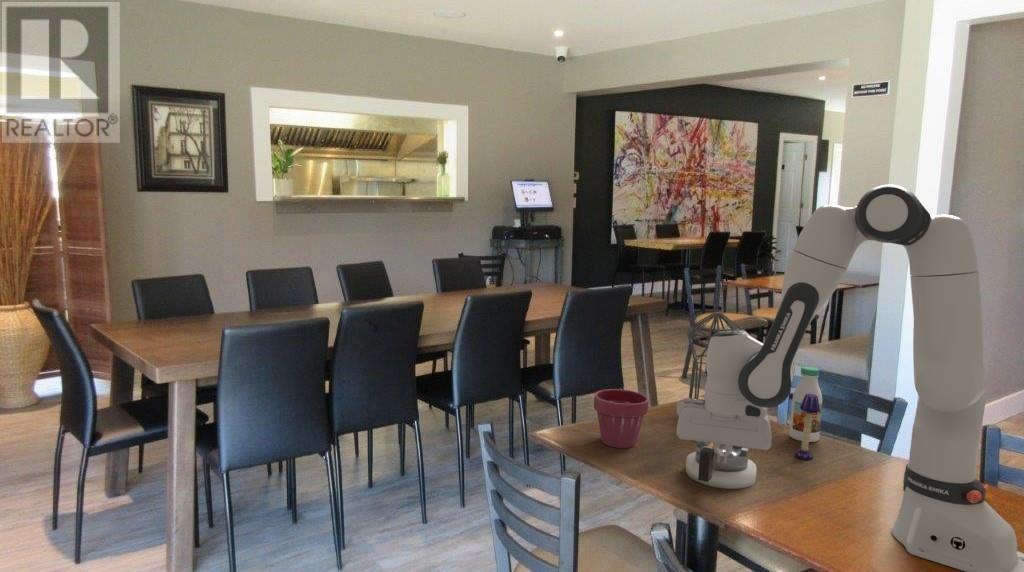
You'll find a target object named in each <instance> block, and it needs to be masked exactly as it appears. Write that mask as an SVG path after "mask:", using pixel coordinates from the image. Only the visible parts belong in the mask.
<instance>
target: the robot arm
mask: <svg viewBox="0 0 1024 572" xmlns="http://www.w3.org/2000/svg"><path fill="white" fill-rule="evenodd" d="M868 241H875V242H878V243H883V244H894V245H900V246H902V247H903V248H905V250H906V254H907V257H908V262H909V263H908V265H909V275H910V288H911V300H912V310H913V329H912V330H913V335H912V336H913V339H912V344H913V345H912V348H913V351H912V352H913V355H912V356H913V381H914V387H915V391H916V394H917V395H918V400H917V404H916V405H917V406H916V411H915V416H914V419H913V425H912V432H911V439H910V447H909V448H910V449H909V457H908V463H906V465H905V470H904V474H903V481H902V483H903V485H902V486H903V488H902V489H903V496H902V497H903V498H902V501H901V505H900V508H899V511H898V514H897V516H896V519H895V522H894V524H893V526H892V528H891V534H892V535H893V537H894V538H895V539H896V540H897V541H898V542H900V543H901V544H902V545H903V546H904V548H905V550H906V551H907V552H908V553H909V554H911V555H913V556H914V557H915V556H916V557H919V558H922V559H925V560H928V561H931V562H935V563H938V564H940V565H944V566H948V567H951V568H954V569H957V570H960V571H964V572H1024V553H1023V552H1021V551H1018V542H1017V541H1018V539H1017V534H1016V531H1015V530H1014V528H1013V527H1012V526H1011V524H1009V523H1008V522H1007V521H1006V520H1005V519H1004V518H1003V517H1002V516H1001V515H1000V514H999V513H998V512H997V511H996V510H995V509H994V508H993V507H992V506H991V505H990V504H988V503H987V501H985V499H986V496H987V495H986V494H987V493H986V492H988V488H989V484H988V483H986V484H985V485H983V484H982V483H981V482H980V481H979V480H978V478H977V477H976V472H977V467H978V466H977V465H978V457H979V447H980V441H981V434H982V427H983V423H984V422H983V421H984V415H985V410H986V408H985V407H986V401H987V395H988V388H989V381H990V373H991V371H990V370H991V369H990V364H989V361H988V359H987V357H986V355H984V350H983V348H984V345H983V343H984V342H983V309H982V296H981V285H980V284H981V283H980V274H979V273H980V272H979V263H978V257H977V251H976V247H975V243H974V239H973V235H972V232H971V229H970V227H969V224H968V223H967V222H966V220H964V218H961V217H960V216H955V215H950V214H930V212H929V211H928V209H926V208H925V206H924V205H923V203H922V202H921V201H920V199H918V197H917V196H916V195H915V194H914V193H913V192H912V191H911V190H910V189H908V188H905V187H904V186H901V185H897V184H882V185H879V186H876V187H872V188H871V189H870V190H868V191H867V192H865V193H864V195H863V196H862V197H861V198H860V200H859V201H858V203H857V205H856V206H853V207H845V206H841V205H837V204H828V205H827V204H826V205H821V206H819V207H818V208H817V209H815V210H814V211H813V213H812V214H811V216H810V217H809V218H808V219H807V221H806V223H805V225H804V226H803V228H802V230H801V231H800V233H799V235H798V237H797V239H796V241H795V243H794V245H793V249H792V250H791V252H790V254H789V258H788V259H787V262H786V267H785V270H784V275H783V280H782V287H781V292H780V293H781V294H780V300H779V305H778V308H777V311H776V315H775V317H774V320H773V321H772V324H771V327H770V328H769V331H768V333H767V335H766V337H765V340H764V342H761V341H759V340H757V338H754V337H753V336H752V335H750V333H748V332H747V331H746V330H745V331H743V330H738V329H733V330H724V331H723V330H719V331H720V332H718V333H715V335H714V334H713V335H711V336H712V337H711V339H710V338H709V346H708V349H707V351H706V352H707V354H706V355H707V357H706V362H705V363H706V364H705V365H706V366H705V368H706V369H705V370H706V373H707V379H706V382H705V386H704V399H702V398H701V399H699V398H698V399H694V398H692V399H690V398H689V397H683V399H680V400H678V401H677V403H676V415H677V416H678V419H677V426H676V436H677V437H678V438H679V439H680V440H687V441H688V440H689V441H695V442H697V441H701V442H709V443H713V449H714V451H715V453H716V454H717V462H718V463H725V464H726V462H727V456H728V455H729V454H730V452H731V451H732V448H733V446H740V447H743V448H748V449H756V450H765V451H768V450H770V449H771V447H772V427H771V420H770V417H769V416H768V408H773V407H774V408H775V407H777V406H779V405H781V404H783V403H784V402H785V401H786V400H787V398H788V397H789V395H790V394H791V389H792V382H793V379H794V376H795V363H794V359H795V358H796V357H795V356H796V354H797V352H798V349H799V348H800V344H801V343H802V340H803V339H804V336H805V334H806V332H807V329H808V327H809V326H810V324H811V323H812V321H813V319H814V318H815V316H816V315H817V314H818V312H819V311H820V310H821V309H822V307H824V305H825V304H826V303H827V302H828V301H829V299H830V298H831V297H832V295H833V293H834V292H835V291H836V290H837V288H838V286H839V285H840V283H841V281H842V279H843V278H844V276H845V273H846V272H847V270H848V268H849V265H850V264H851V260H852V258H854V257H853V256H854V254H855V253H856V251H857V249H858V248H859V247H860V246H861V245H862V244H864V243H866V242H868ZM720 444H725V445H726V449H727V450H726V451H725V453H721V452H720V450H719V446H720Z"/></svg>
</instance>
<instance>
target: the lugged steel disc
mask: <svg viewBox="0 0 1024 572" xmlns="http://www.w3.org/2000/svg"><path fill="white" fill-rule="evenodd" d="M719 450H720V452H721V453H725V451H726V450H727V449H726V445H725V444H720V446H719ZM695 452H696V455H695V460H696V462H697V463H698V464H699V475H698V480H701V481H705V482H709V480H710V479H711V478H712V474H713V473H714V472H715V470H717V471H724V472H737V471H742V470H745V469H746V468H747V467H748V459H749V452H750V448H748V447H740V446H733V448H732V451H731V452H730V454H729V455H728V456H727V462H726V464H725V463H718V462H717V454H716V453H715V451H714V449H713V443H709V442H701V441H696V446H695Z"/></svg>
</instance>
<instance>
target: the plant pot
mask: <svg viewBox="0 0 1024 572" xmlns="http://www.w3.org/2000/svg"><path fill="white" fill-rule="evenodd" d="M593 409H594V410H595V412H596V413H597V421H598V426H599V427H598V428H599V432H600V438H601V439H600V440H601V443H603V444H604V445H606V446H609V447H612V448H618V449H627V448H632V447H634V446H635V445H636V444H637V440H638V437H639V434H640V431H641V427H642V423H643V421H644V417H645V416H646V415H647V414H648V413H649V398H648V396H647V395H645V394H643V393H640V392H638V391H633V390H630V389H620V388H610V389H609V388H608V389H601V390H597V391H596V392H595V393H594V397H593Z"/></svg>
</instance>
